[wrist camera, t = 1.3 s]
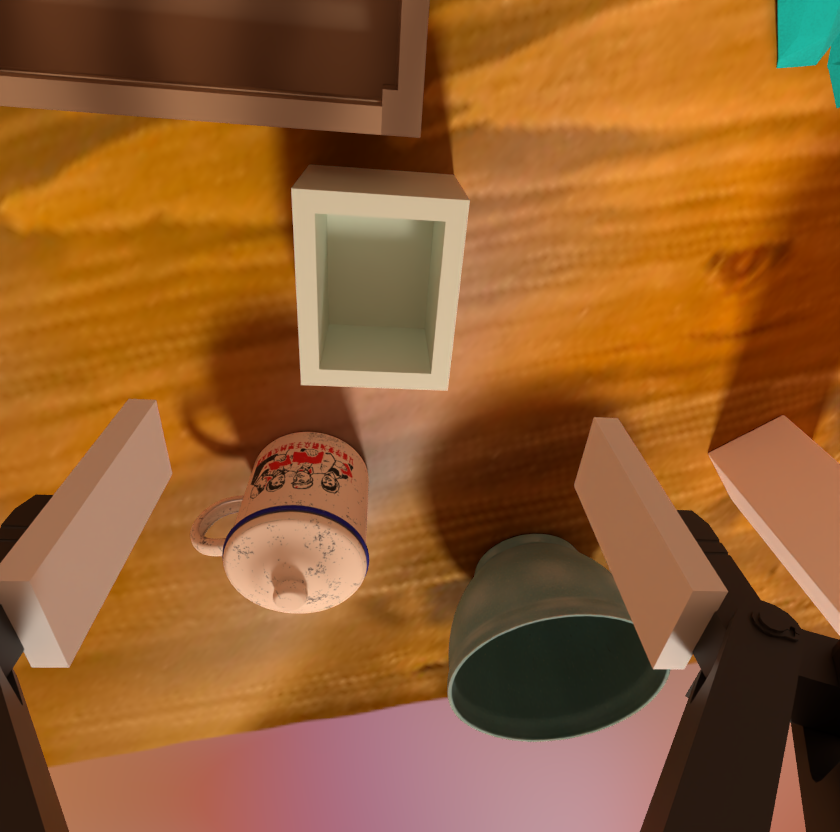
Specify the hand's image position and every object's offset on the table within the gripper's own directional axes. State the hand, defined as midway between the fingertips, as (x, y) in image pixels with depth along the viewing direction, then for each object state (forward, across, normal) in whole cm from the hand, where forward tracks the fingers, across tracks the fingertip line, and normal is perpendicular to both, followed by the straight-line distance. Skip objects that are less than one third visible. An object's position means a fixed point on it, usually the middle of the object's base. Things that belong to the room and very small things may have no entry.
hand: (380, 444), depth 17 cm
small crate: (+19, 0, 0) cm, 19 cm away
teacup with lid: (+19, -6, -17) cm, 27 cm away
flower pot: (+19, +14, -27) cm, 36 cm away
